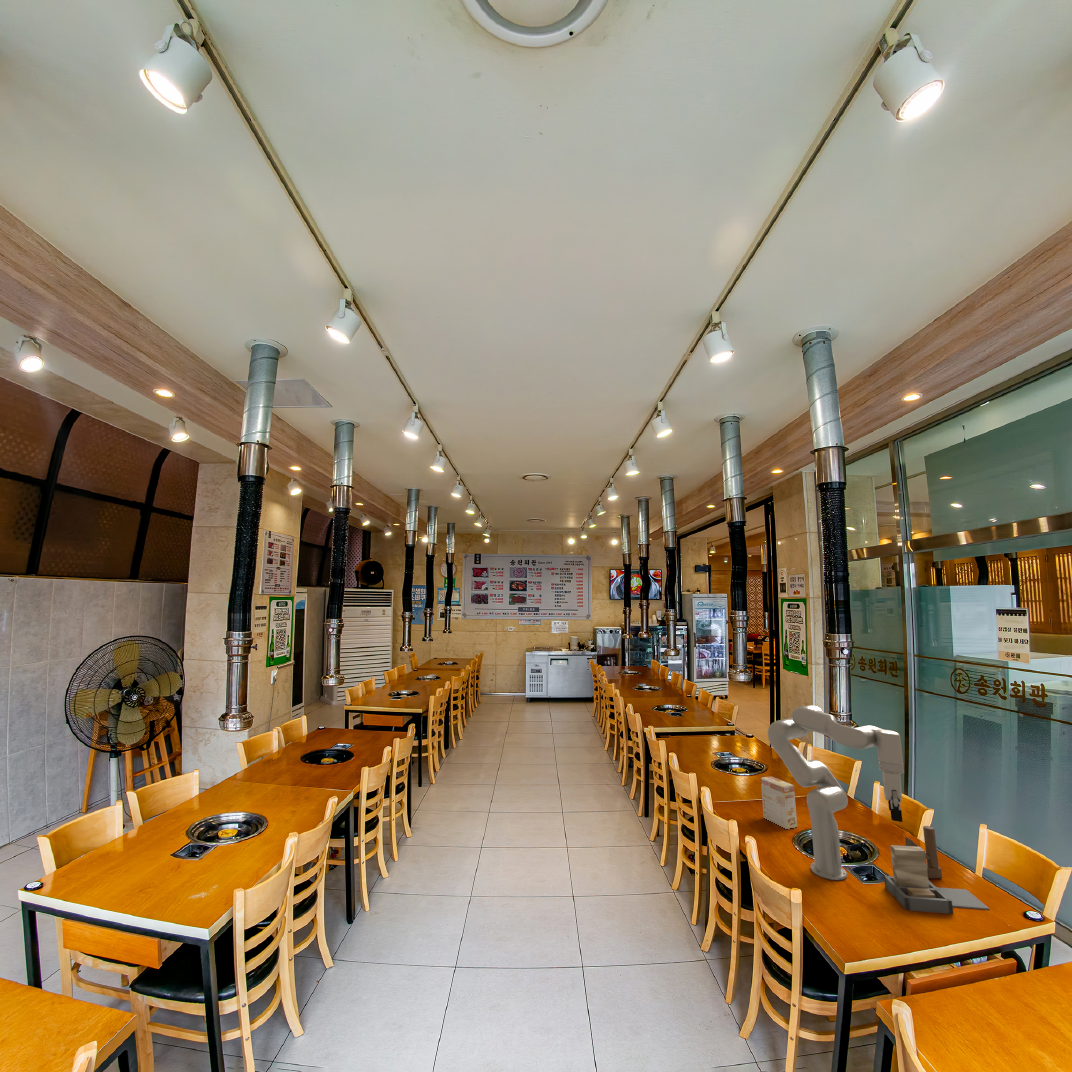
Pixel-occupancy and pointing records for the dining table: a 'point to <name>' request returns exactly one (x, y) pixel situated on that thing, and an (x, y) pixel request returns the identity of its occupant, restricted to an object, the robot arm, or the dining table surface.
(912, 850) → the plywood sheet
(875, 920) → the dining table surface
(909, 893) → the offcut upper
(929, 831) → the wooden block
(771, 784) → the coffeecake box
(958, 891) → the mat
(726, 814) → the dining table surface
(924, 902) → the tray
